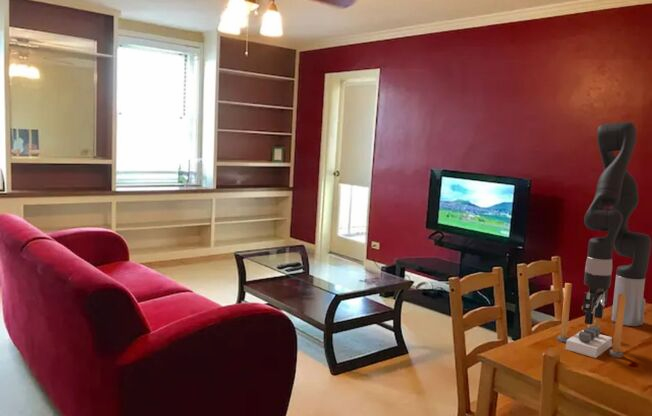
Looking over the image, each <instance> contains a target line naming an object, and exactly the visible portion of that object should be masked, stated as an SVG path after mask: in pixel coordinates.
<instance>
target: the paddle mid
mask: <svg viewBox="0 0 652 416" xmlns="http://www.w3.org/2000/svg"><path fill="white" fill-rule="evenodd" d="M583 330H584V332H586V333H590V334H591V339H593V340H594V339H595V337H596V331H595V330H591V329H588V327H587V328H586V327H585V329H583Z"/></svg>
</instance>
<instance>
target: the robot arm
mask: <svg viewBox="0 0 652 416" xmlns="http://www.w3.org/2000/svg"><path fill="white" fill-rule="evenodd" d="M596 133H597V134H596V139H597V145H598V149H599V154H600V158H601V161H602V165H603V171H602V173H601V174H600V176H599V178H598V181H597V183H596V188H595V189H596V190H595V193H594V197H593V200H592V202H591V203H590V205H589V207H588V209H587V210H586V212H585V214H584V218H583V224H584V225H585V227H586V228H587V229H588V230H591V231H601V232H606V233H607V234H606V235H604V236H600V237H592V238H590V239H589V241H588V245H587V257H586V261H585V267H584V280H583V284H584V285H585V286H586V287H588V288H589V289H588V291H587V292H584V294H583V295H584V296H583V301H582V302H583V303H582V306H583V309H582V312H585V313H584V324H586V325H588V324H589V325H592V324H593V320H594V318H595V317H596V318H597V319H602V318H603V316H604V315H603V313H604V312H603V310H604V307H605V305H607V303H608V302H607V301H608V292H609V291H608V290H609V288H610V287H611V284H612V273H613V253H614V251H615V253H616V254H617V255H619V256H621V257H624V258H625V257H626V258H630V259H631V258H632V262H631V263H630V264H625V265H619V266H617V268H616V272H615V273H616V274H615V280H614V281H615V283H614V291H613V300H612V302H613V303H612V312H611V322H614V323H616V313H617V304H618V294H623V295H626V300H625V309H624V318H623V326H629V327H638V326H643V325H644V317H645V316H644V315H645V306H646V299H645V298H644V291H645V285H646V284H645V283H646V275H647V271H648V268H649V262H650V261H649V260H650V256H651V250H652V249H651V248H652V240H651V236H649V234H646V233H640V232H635V231H630V230H629V227H628V220H629V218H630V216H631V215H632V214H633V212H634V211H635V209H636V208H637V206H638V204H639V198H640V197H639V189H638V184H637V181H636V179H635V178H634V177H633V175H632V174H631V173H630V172H629V171H628V170H627V169H628V166H629V164H630V162H631V158H632V156H633V152H634V149H635V147H636V143H637V129H636V126H635V124H634V122H630V121H624V122H623V121H622V122H613V123H604V124H600V125H599V126H598V128H597V132H596ZM617 151H618V152H619V153H618V154H617V155H615V152H617ZM608 207H609V208H608ZM594 310H595V313H594Z"/></svg>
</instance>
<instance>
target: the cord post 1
mask: <svg viewBox="0 0 652 416" xmlns="http://www.w3.org/2000/svg"><path fill="white" fill-rule="evenodd" d="M572 287H573V284H572V283H569V282H565V283H564V293H563V305H562V312H561V314H562V316H561V324H560V334H559V335H557V341H558V342H559V343H563V344H565V343H566V340H567V339H569V338H570V336H568V330H569V328H568V327H569V320H570V319H569V317H570V306H571V301H572V300H571V299H572Z"/></svg>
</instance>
